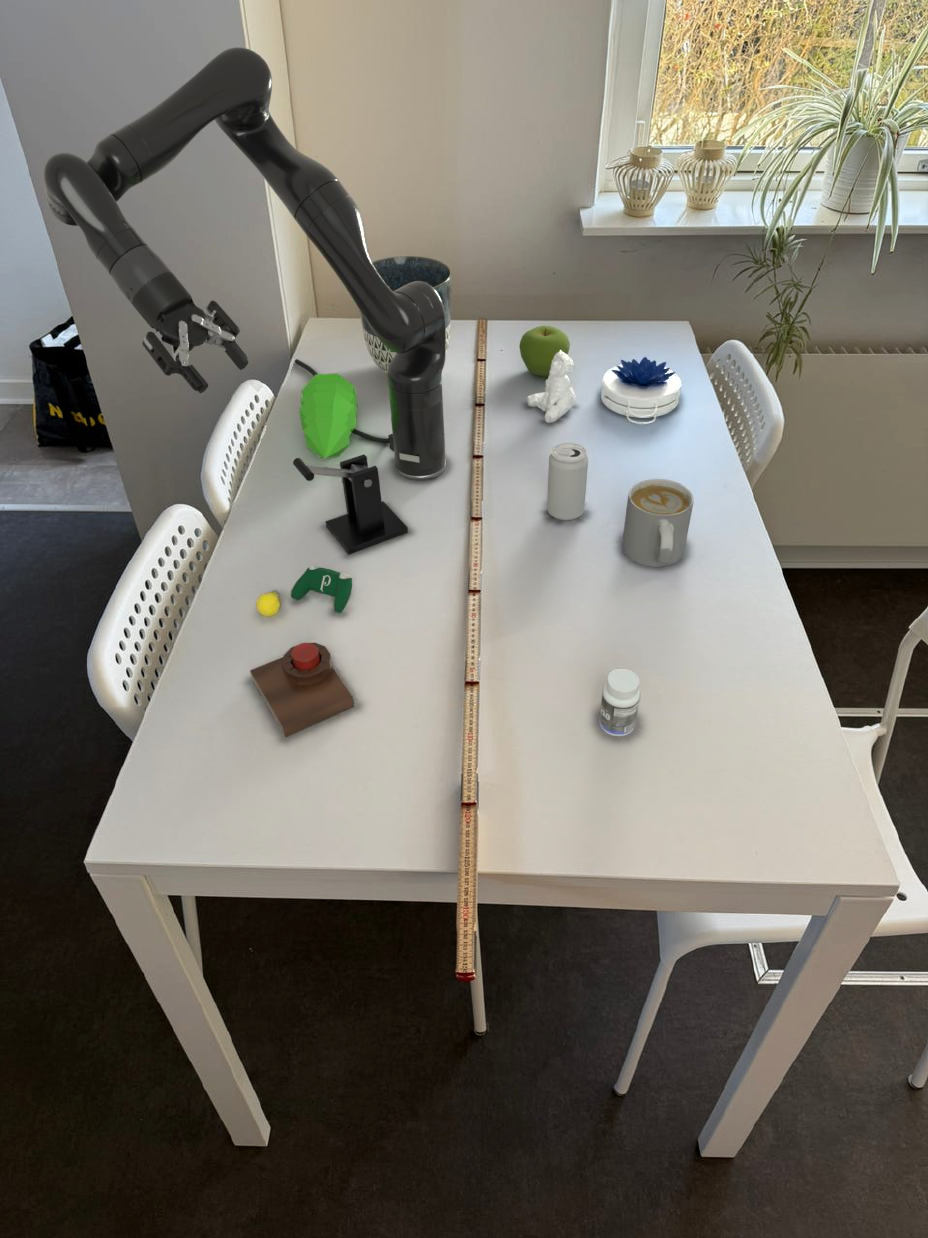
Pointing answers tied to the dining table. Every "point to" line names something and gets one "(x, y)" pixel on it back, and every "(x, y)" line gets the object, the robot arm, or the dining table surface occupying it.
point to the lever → (324, 470)
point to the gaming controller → (324, 585)
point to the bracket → (364, 511)
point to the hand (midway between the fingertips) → (225, 377)
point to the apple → (542, 348)
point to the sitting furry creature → (556, 389)
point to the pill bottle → (619, 702)
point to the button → (305, 656)
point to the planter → (398, 275)
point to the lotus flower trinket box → (641, 389)
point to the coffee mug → (657, 522)
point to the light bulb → (268, 603)
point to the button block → (301, 691)
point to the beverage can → (567, 481)
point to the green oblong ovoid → (328, 414)
